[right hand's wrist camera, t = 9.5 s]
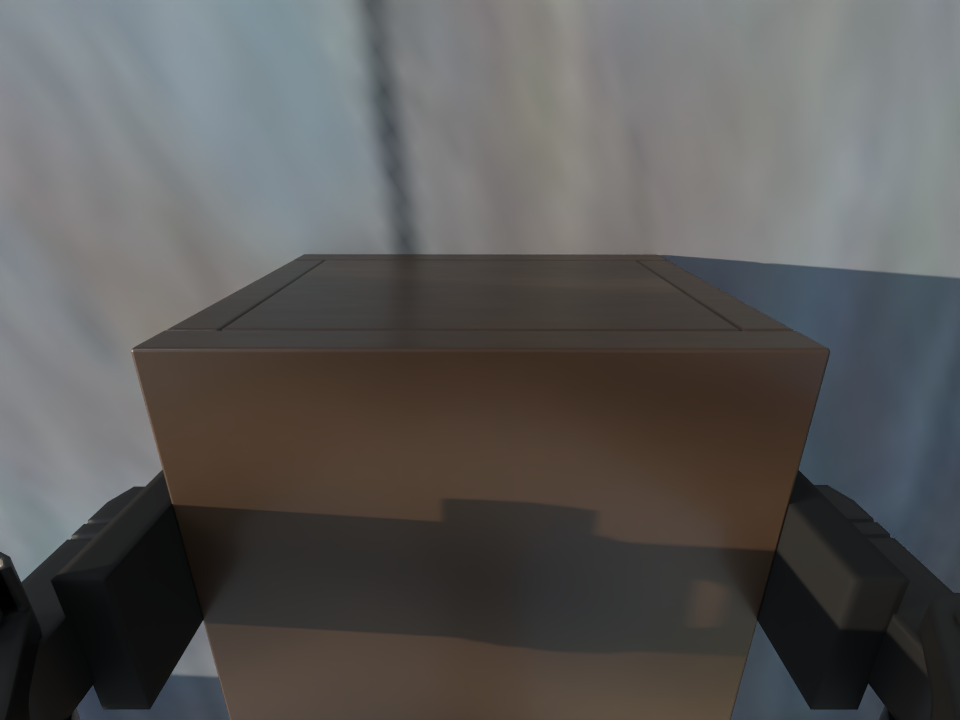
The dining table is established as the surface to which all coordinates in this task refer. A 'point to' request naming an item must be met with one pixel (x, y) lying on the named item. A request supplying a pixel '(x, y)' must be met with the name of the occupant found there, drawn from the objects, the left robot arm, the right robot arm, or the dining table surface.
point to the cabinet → (480, 484)
